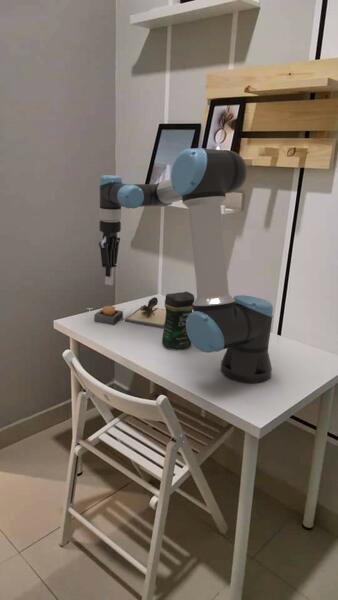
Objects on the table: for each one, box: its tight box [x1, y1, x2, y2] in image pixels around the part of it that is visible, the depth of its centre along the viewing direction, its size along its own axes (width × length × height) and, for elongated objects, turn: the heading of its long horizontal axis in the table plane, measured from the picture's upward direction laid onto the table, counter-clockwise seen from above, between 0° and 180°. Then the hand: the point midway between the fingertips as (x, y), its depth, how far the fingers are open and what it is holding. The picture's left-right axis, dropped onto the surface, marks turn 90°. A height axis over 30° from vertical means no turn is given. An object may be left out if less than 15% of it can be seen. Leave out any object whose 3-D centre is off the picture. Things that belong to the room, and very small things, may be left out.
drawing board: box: [123, 305, 166, 330], centre depth 184 cm, size 18×16×1 cm
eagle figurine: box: [139, 296, 159, 318], centre depth 183 cm, size 8×7×9 cm
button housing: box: [93, 308, 124, 326], centre depth 179 cm, size 8×8×3 cm
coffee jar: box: [161, 291, 195, 351], centre depth 156 cm, size 10×8×19 cm
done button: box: [102, 305, 116, 316], centre depth 178 cm, size 5×5×2 cm
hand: (109, 284), depth 175 cm, fingers closed
